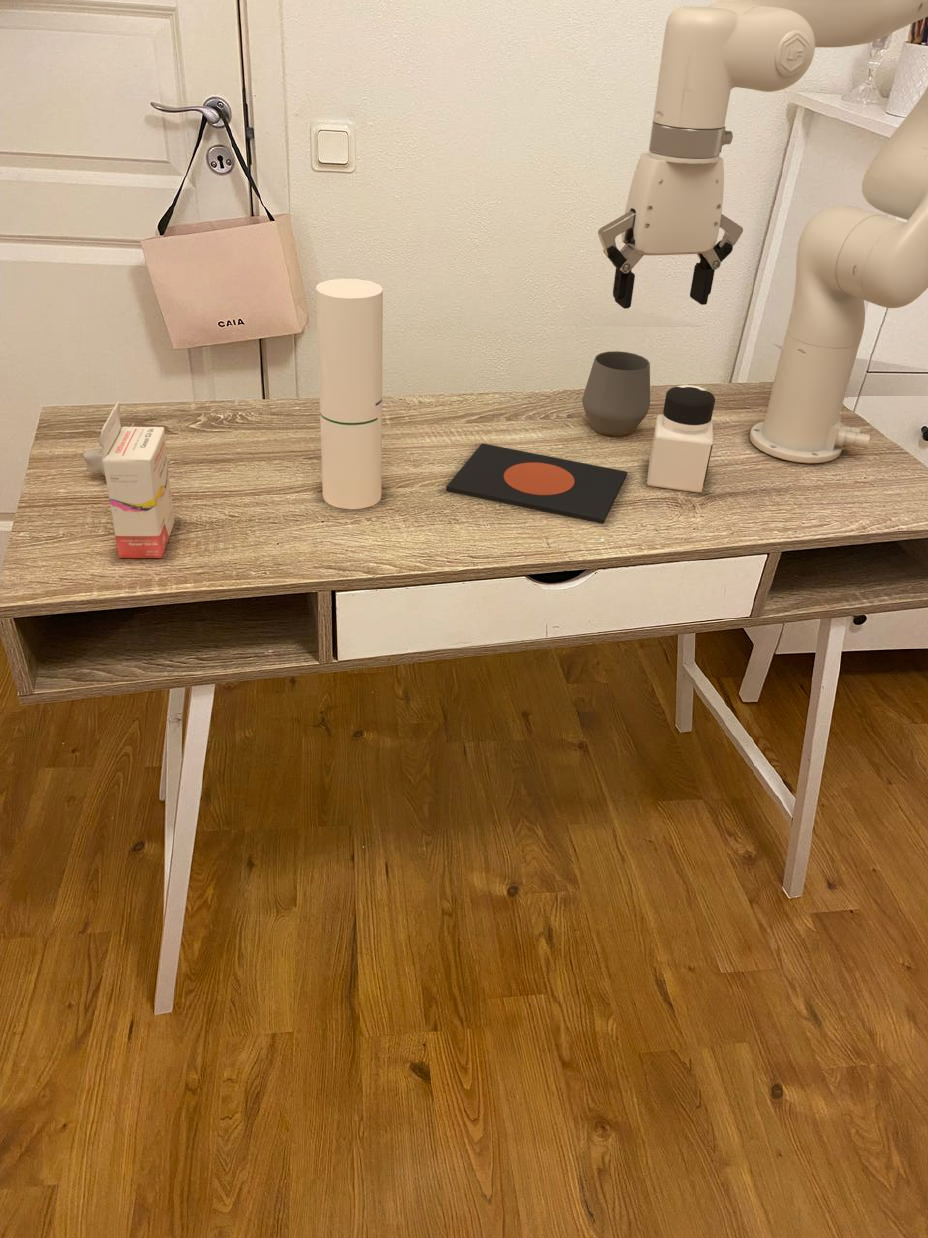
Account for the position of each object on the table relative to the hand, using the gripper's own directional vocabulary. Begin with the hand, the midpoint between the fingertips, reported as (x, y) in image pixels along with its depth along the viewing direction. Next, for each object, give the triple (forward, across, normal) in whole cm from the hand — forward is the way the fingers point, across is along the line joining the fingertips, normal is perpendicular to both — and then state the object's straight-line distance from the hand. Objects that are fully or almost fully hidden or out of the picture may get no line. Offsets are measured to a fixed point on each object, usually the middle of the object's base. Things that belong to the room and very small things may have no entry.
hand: (660, 302), depth 116 cm
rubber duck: (+22, +64, -11) cm, 69 cm away
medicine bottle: (+23, -6, +1) cm, 24 cm away
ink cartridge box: (+22, +60, +4) cm, 65 cm away
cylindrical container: (+23, +36, -2) cm, 43 cm away
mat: (+23, +13, -1) cm, 26 cm away
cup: (+23, -4, -15) cm, 28 cm away
